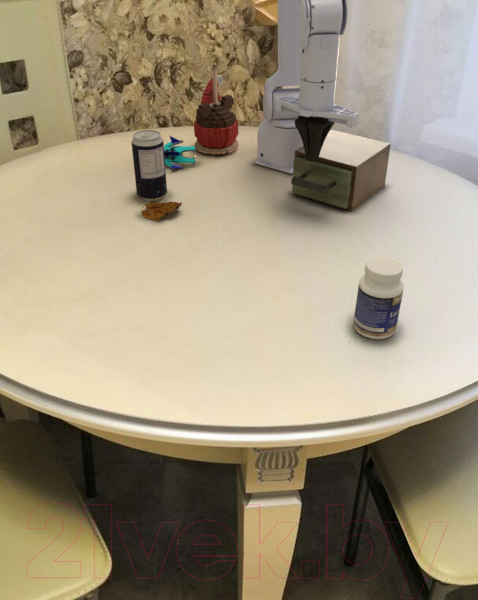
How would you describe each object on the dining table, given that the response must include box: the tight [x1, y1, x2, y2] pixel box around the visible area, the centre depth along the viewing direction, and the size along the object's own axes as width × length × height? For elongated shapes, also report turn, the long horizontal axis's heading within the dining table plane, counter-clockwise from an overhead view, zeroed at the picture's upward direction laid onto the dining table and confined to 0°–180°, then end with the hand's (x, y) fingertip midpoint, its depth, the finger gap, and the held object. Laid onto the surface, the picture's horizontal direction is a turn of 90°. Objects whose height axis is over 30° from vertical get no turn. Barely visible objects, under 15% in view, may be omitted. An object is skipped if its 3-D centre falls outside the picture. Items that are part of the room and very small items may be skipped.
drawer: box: [290, 156, 353, 210], centre depth 114 cm, size 17×11×7 cm
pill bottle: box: [352, 255, 404, 340], centre depth 80 cm, size 6×6×10 cm
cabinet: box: [292, 129, 392, 212], centre depth 116 cm, size 14×13×9 cm
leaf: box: [141, 201, 183, 222], centre depth 111 cm, size 6×7×2 cm
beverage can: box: [130, 129, 168, 202], centre depth 113 cm, size 6×6×12 cm
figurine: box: [164, 135, 197, 170], centre depth 127 cm, size 7×6×12 cm
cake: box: [193, 63, 239, 155], centre depth 131 cm, size 11×9×18 cm
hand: (312, 159), depth 106 cm, fingers closed
